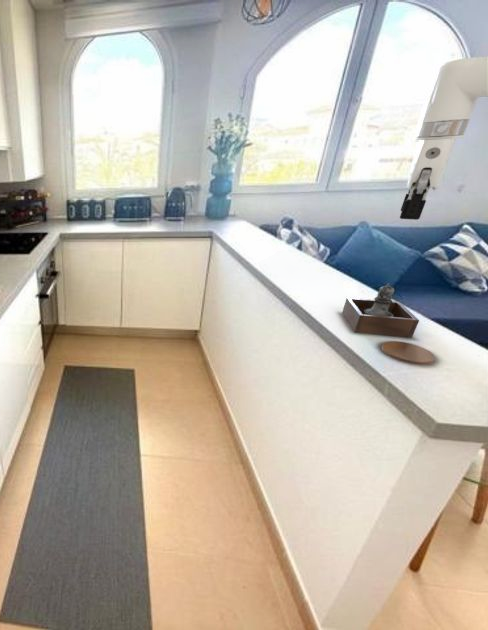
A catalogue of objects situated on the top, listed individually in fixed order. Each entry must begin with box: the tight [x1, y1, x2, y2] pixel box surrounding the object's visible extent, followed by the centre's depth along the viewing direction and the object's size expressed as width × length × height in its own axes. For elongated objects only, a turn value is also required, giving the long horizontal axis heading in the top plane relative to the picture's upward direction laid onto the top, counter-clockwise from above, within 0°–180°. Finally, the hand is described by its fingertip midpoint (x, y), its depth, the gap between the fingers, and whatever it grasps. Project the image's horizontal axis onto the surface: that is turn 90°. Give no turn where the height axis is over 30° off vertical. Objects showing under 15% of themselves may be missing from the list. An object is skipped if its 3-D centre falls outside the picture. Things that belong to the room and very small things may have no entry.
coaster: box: [380, 340, 436, 365], centre depth 79 cm, size 9×9×1 cm
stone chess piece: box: [364, 282, 395, 317], centre depth 89 cm, size 6×6×12 cm
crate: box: [341, 297, 420, 339], centre depth 91 cm, size 12×12×5 cm
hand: (409, 215), depth 79 cm, fingers open, 9 cm apart
